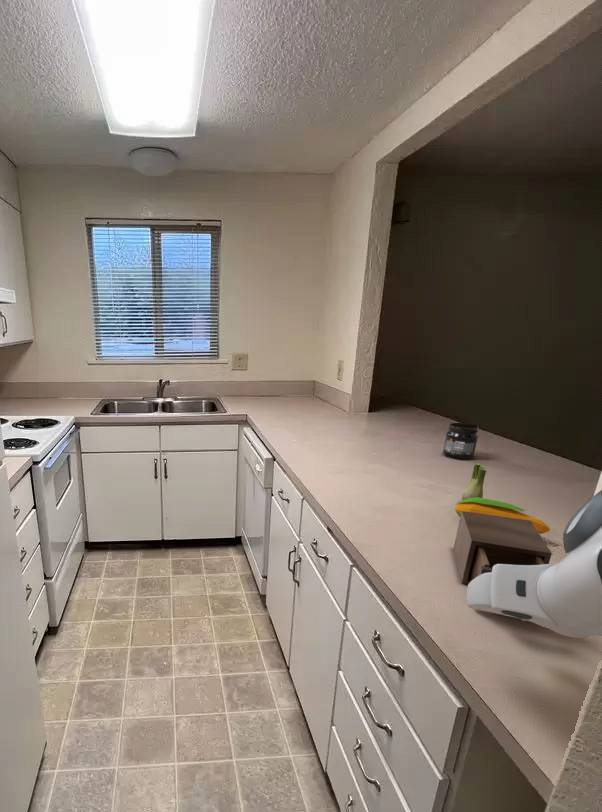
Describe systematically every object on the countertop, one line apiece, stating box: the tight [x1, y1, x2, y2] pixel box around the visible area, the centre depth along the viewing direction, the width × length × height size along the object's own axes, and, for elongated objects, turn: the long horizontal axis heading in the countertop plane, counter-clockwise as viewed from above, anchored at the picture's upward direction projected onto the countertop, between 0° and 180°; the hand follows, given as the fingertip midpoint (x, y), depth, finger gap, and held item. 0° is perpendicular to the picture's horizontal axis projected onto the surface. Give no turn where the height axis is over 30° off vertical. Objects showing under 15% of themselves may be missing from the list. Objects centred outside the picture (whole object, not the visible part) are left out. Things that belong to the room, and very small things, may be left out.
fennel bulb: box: [461, 462, 487, 501], centre depth 122 cm, size 6×5×12 cm
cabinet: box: [452, 511, 553, 585], centre depth 90 cm, size 15×13×10 cm
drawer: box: [469, 545, 544, 581], centre depth 80 cm, size 18×12×8 cm, turn 157°
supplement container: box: [442, 422, 479, 460], centre depth 165 cm, size 10×10×12 cm
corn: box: [454, 497, 551, 535], centre depth 108 cm, size 7×8×20 cm
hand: (532, 617), depth 68 cm, fingers closed
